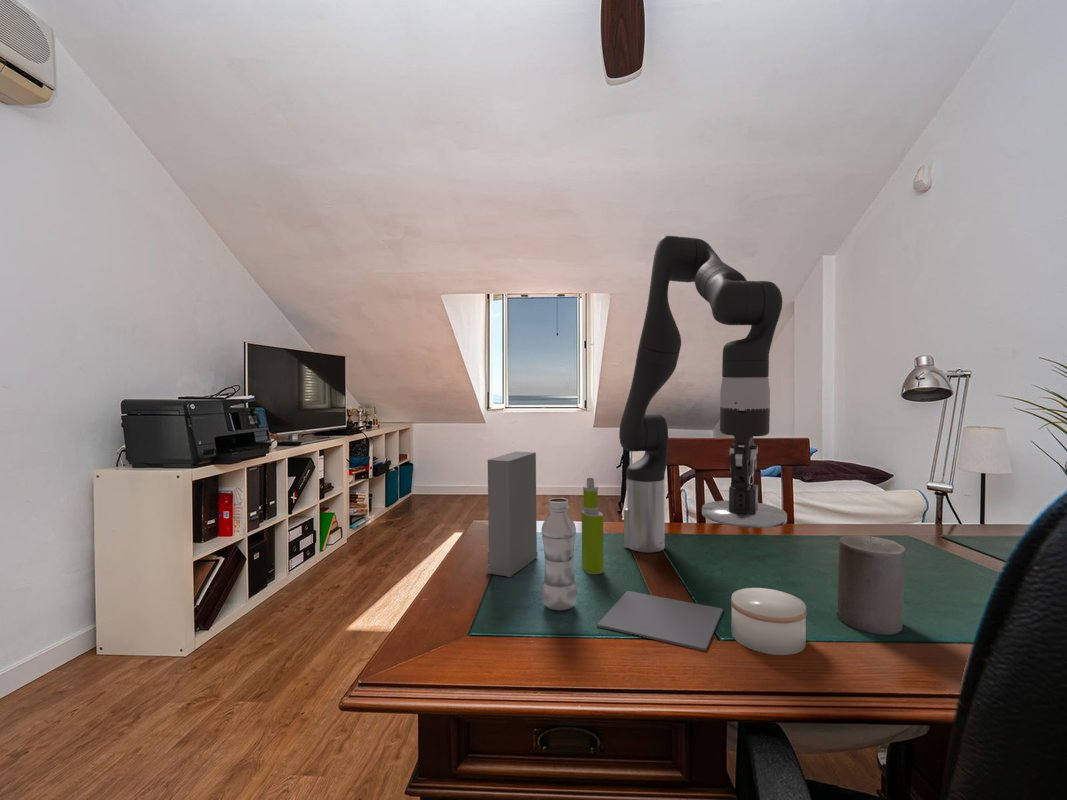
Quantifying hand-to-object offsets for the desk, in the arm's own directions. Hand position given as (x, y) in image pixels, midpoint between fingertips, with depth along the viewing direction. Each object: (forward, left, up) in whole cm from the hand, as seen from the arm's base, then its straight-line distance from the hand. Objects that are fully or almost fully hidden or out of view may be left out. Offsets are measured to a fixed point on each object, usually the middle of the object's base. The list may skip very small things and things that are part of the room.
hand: (743, 508), depth 88 cm
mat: (-13, -1, -21) cm, 24 cm away
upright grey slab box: (-50, +10, -21) cm, 55 cm away
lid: (0, 0, -1) cm, 1 cm away
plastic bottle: (-31, -5, -21) cm, 38 cm away
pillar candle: (+19, +14, -21) cm, 31 cm away
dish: (+4, 0, -21) cm, 21 cm away
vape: (-33, +16, -21) cm, 42 cm away
